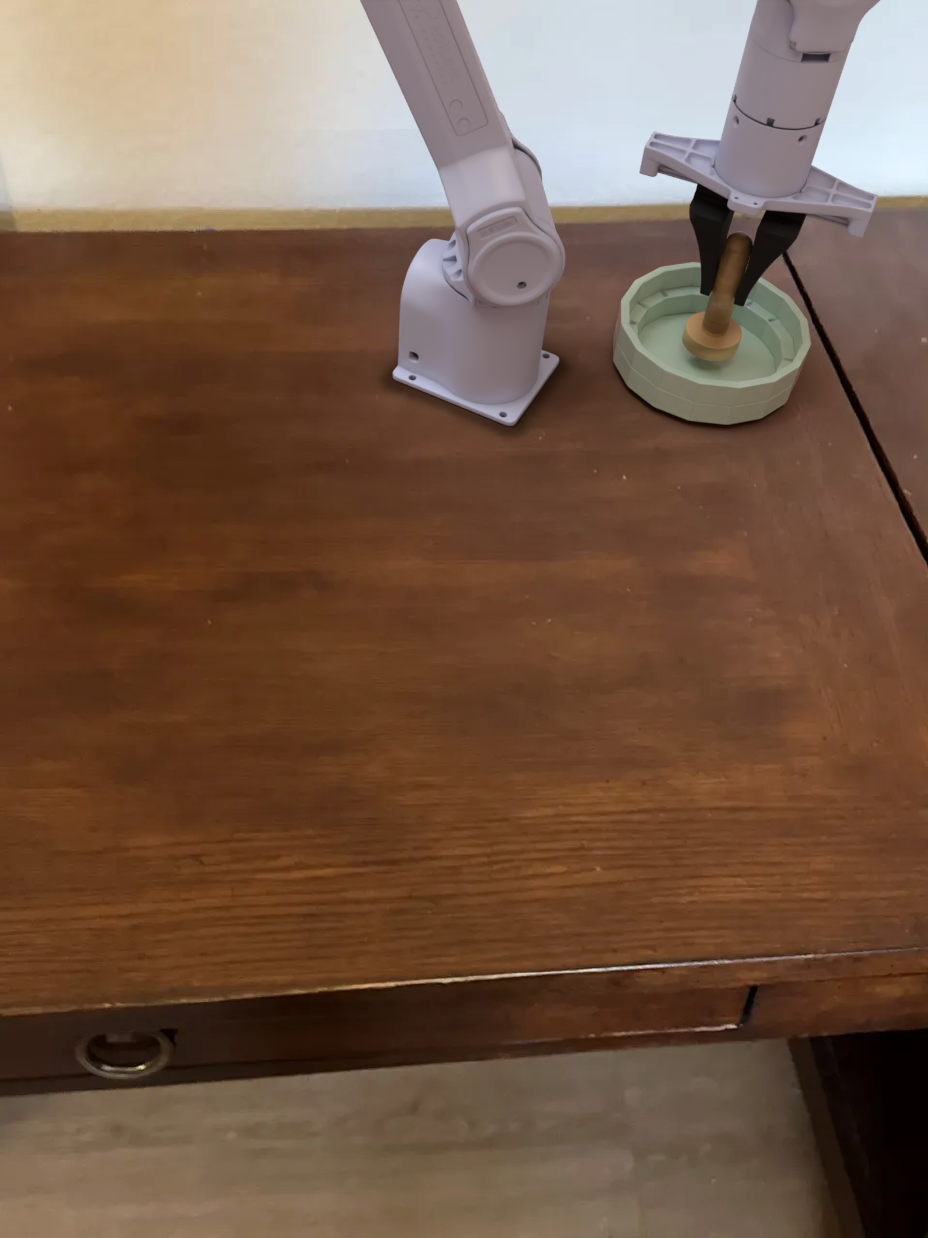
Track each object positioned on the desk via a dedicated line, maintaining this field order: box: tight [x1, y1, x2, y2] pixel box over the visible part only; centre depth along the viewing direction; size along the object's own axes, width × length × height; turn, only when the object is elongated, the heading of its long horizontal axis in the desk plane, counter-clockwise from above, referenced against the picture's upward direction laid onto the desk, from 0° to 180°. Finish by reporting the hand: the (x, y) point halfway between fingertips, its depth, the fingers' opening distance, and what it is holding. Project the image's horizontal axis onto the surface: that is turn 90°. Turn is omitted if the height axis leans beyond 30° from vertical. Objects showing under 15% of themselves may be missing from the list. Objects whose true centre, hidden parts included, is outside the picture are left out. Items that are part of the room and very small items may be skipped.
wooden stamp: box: [682, 230, 754, 361], centre depth 82 cm, size 4×4×9 cm
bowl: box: [612, 261, 812, 426], centre depth 86 cm, size 13×13×4 cm
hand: (724, 291), depth 82 cm, fingers closed on wooden stamp, 2 cm apart
